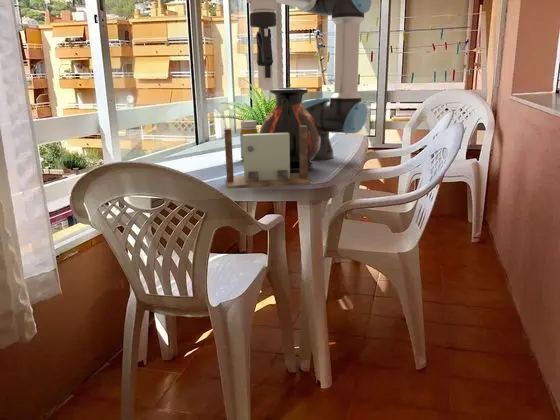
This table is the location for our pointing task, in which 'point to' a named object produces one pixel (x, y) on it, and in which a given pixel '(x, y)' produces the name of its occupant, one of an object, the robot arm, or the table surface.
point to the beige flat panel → (266, 154)
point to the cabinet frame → (282, 174)
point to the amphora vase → (293, 124)
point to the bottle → (247, 131)
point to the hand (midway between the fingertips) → (265, 89)
